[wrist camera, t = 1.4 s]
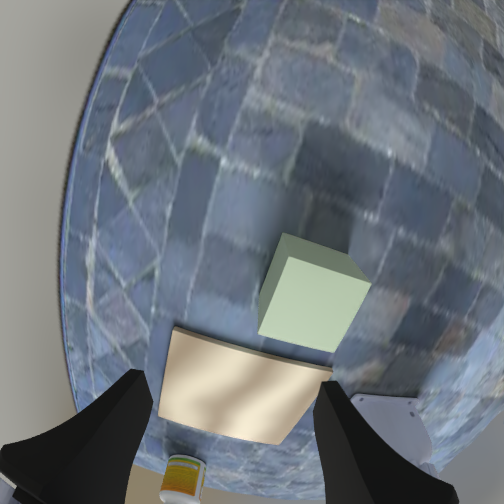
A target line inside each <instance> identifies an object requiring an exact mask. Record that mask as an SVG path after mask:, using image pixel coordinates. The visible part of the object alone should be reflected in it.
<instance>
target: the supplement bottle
mask: <svg viewBox="0 0 504 504" xmlns="http://www.w3.org/2000/svg"><path fill="white" fill-rule="evenodd" d="M205 473H206V465H205V463H204V462H202V461H201V460H199V459H197V458H194V457H191V456H187V455H173V456H171V457H170V458H169V461H168V464H167V468H166V472H165V475H164V479H163V483H162V486H161V490H160V494H159V495H160V498H161V500H162V501H164V502H165V503H164V504H200V502H201V496H202V489H203V484H204V478H205Z"/></svg>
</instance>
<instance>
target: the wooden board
mask: <svg viewBox="0 0 504 504" xmlns="http://www.w3.org/2000/svg"><path fill="white" fill-rule="evenodd" d="M332 373H333V370H332V368H330V367H324V366H319V365H314V364H310V363H305V362H300V361H296V360H291V359H287V358H283V357H279V356H275V355H271V354H267V353H263V352H259V351H255V350H251V349H248V348H244V347H240V346H237V345H233V344H230V343H226V342H223V341H220V340H216V339H213V338H210V337H207V336H204V335H200V334H197V333H194V332H191V331H188V330H185V329H182V328H179V327H176V326H175V327H174V329H173V332H172V337H171V342H170V347H169V352H168V358H167V363H166V369H165V374H164V380H163V386H162V392H161V399H160V405H159V412H158V416H159V417H162V418H165V419H168V420H171V421H174V422H177V423H180V424H184V425H187V426H190V427H194V428H197V429H201V430H205V431H209V432H213V433H217V434H221V435H225V436H230V437H234V438H239V439H244V440H249V441H255V442H261V443H267V444H274V445H279V444H280V443H281V442H282V441H283V439H284V438H285V437H286V436H287V435H288V433H289V432H290V431H291V430H292V428H293V427H294V426H295V425H296V423H297V422H298V421H299V419H300V418H301V417H302V416H303V414H304V413H305V412H306V410H307V409H308V408H309V406H310V405H311V403H312V402H313V401H314V399H315V398H316V397H317V395H318V392H319V389H320V385H321V381H328V379H329V378H330V376H331V375H332Z"/></svg>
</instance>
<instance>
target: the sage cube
mask: <svg viewBox="0 0 504 504" xmlns="http://www.w3.org/2000/svg"><path fill="white" fill-rule="evenodd" d="M371 284H372V283H371V282H370V281H369V280H368V278H367V277H366V276H365V275H364V274H363V272H362V271H361V270H360V269H359V267H358V266H357V265H356V264H355V263H354V261H353V260H352V259H351V258H350V257H349V255H348V254H345V253H342V252H339V251H336V250H334V249H331V248H328V247H325V246H322V245H319V244H316V243H313V242H310V241H308V240H305V239H302V238H299V237H296V236H293V235H290V234H287V233H284V232H282V235H281V238H280V241H279V243H278V246H277V249H276V251H275V254H274V257H273V260H272V262H271V265H270V268H269V270H268V273H267V276H266V278H265V281H264V284H263V286H262V289H261V291H260V294H259V308H258V331H257V334H259V335H263V336H267V337H270V338H274V339H278V340H282V341H286V342H290V343H294V344H298V345H302V346H306V347H310V348H314V349H319V350H323V351H328V352H332V353H334V352H335V350H336V348H337V347H338V345H339V343H340V342H341V340H342V338H343V336H344V335H345V333H346V331H347V329H348V328H349V326H350V324H351V322H352V320H353V319H354V317H355V315H356V313H357V311H358V309H359V307H360V306H361V304H362V302H363V300H364V298H365V296H366V294H367V292H368V290H369V288H370V286H371Z"/></svg>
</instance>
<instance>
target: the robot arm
mask: <svg viewBox="0 0 504 504" xmlns="http://www.w3.org/2000/svg"><path fill="white" fill-rule="evenodd" d="M418 402H419V400H418V398H404V397H389V396H377V395H367V394H355V395H354V396H353V397H352V398H351V399H349V398H348V396H347V395H346V394H345V392H344V391H343V389H342V388H341V386H340V385H339V383H338V382H337V381H321V385H320V389H319V392H318V396H317V400H316V403H315V406H314V410H313V418H314V430H315V436H316V441H317V446H318V451H319V456H320V460H321V465H322V470H323V475H324V482H325V495H326V504H459V499H458V497H457V493H456V491H455V489H454V487H453V486H452V485H451V484H448V483H446V482H444V481H442V480H440V477H439V475H438V473H437V471H436V469H435V467H434V465H433V464H431V463H429V461H430V459H431V455H432V442H431V439H430V437H429V435H428V432H427V430H426V428H425V426H424V424H423V422H422V420H421V418H420V416H419V413H418V411H417V409H416V407H415V406H416V405H417V404H418ZM152 405H153V399H152V396H151V393H150V390H149V387H148V384H147V380H146V377H145V374H144V371H142V370H136V369H130V370H129V371H127V372H126V373H125V374H124V375H123V376H122V377H121V378H120V379H119V380H118V381H116V382H115V383H114V384H113V385H112V386H111V387H110V388H109V389H108V390H106V391H105V392H104V393H103V394H102V395H101V396H100V397H98V398H97V399H96V400H95V401H94V402H92V403H91V404H90V405H89V406H87V407H86V408H85V409H83V410H82V411H81V412H79V413H78V414H77V415H75V416H74V417H72V418H71V419H69V420H67V421H66V422H64V423H62V424H61V425H59V426H57V427H55V428H53V429H51V430H49V431H47V432H45V433H42V434H40V435H37V436H35V437H32V438H29V439H26V440H23V441H19V442H15V443H10V444H6V445H3V447H2V448H1V450H0V472H1V473H2V474H3V475H5V476H6V477H7V478H8V479H9V480H10V481H12V482H13V483H14V484H15V485H17V487H16V489H14V488H13V487H11V486H10V485H9V484H7V483H6V482H5V481H4V480H2V479H1V478H0V504H124V503H125V496H126V490H127V485H128V480H129V476H130V471H131V467H132V464H133V461H134V458H135V455H136V453H137V450H138V448H139V445H140V442H141V440H142V437H143V435H144V432H145V430H146V427H147V424H148V422H149V418H150V414H151V410H152Z"/></svg>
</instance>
